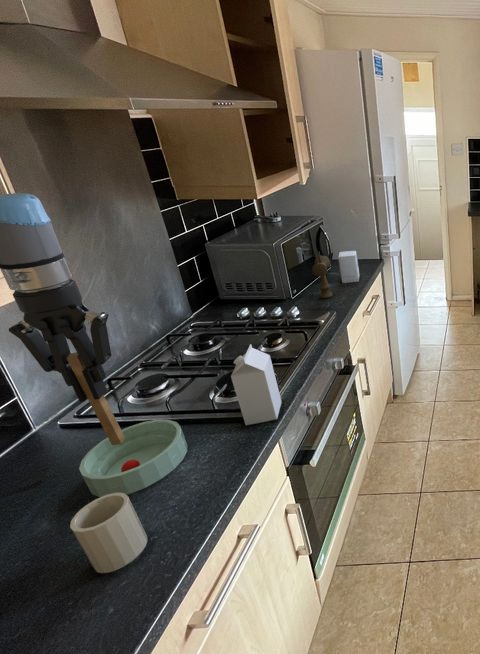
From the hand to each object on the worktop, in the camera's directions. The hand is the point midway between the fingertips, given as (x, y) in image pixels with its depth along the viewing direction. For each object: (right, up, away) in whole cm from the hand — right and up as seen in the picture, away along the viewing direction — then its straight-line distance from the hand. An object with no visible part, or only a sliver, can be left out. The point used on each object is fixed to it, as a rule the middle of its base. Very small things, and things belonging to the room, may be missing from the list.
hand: (93, 395), depth 80 cm
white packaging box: (+8, +20, +109) cm, 112 cm away
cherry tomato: (-1, -18, +9) cm, 20 cm away
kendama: (+4, +13, +93) cm, 94 cm away
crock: (+11, -27, -6) cm, 30 cm away
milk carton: (+17, -13, +28) cm, 35 cm away
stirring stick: (0, -11, +6) cm, 12 cm away
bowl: (-1, -19, +12) cm, 23 cm away
